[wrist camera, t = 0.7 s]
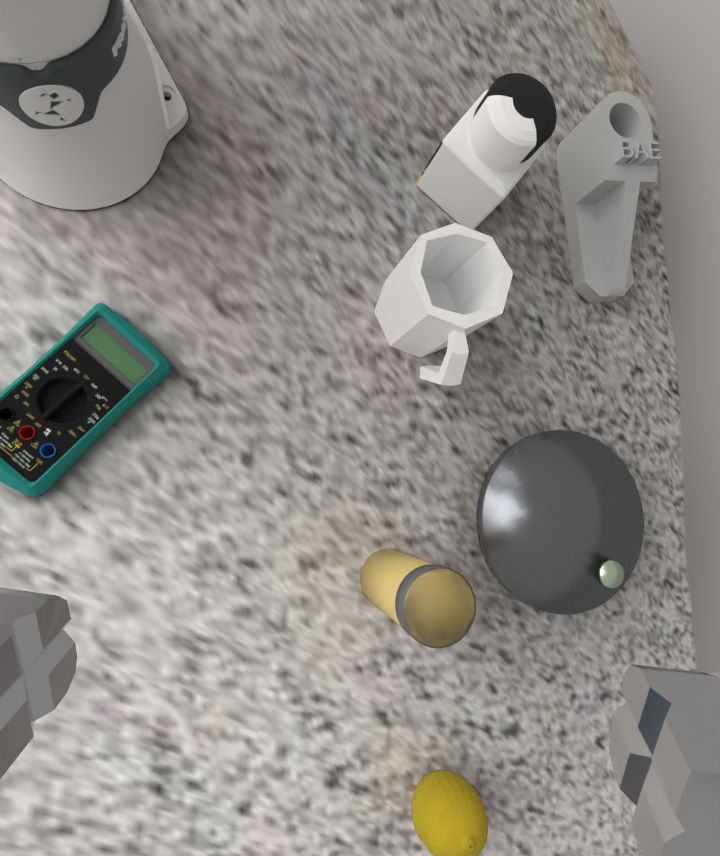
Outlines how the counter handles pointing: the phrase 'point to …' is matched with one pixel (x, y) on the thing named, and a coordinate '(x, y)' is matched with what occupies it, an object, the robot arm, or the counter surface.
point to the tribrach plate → (560, 521)
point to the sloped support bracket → (605, 192)
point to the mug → (443, 297)
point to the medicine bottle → (490, 148)
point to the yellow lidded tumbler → (419, 596)
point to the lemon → (449, 815)
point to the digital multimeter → (73, 398)
